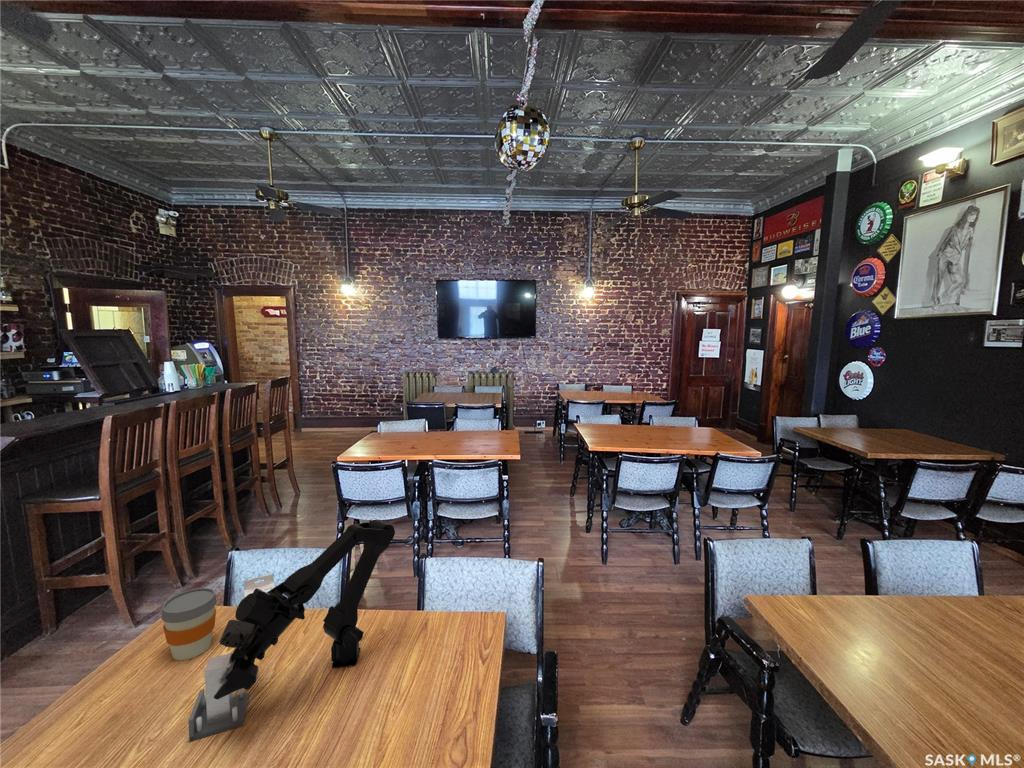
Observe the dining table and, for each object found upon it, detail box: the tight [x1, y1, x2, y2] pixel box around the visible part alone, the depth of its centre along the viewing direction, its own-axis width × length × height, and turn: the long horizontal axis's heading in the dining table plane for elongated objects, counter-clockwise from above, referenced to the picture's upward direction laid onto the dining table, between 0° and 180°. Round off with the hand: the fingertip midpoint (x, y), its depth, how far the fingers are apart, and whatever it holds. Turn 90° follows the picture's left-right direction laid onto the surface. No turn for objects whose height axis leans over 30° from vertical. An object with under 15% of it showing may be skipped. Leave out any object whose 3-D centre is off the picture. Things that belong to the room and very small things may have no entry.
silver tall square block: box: [204, 652, 235, 724], centre depth 97 cm, size 4×4×13 cm
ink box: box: [243, 573, 276, 599], centre depth 130 cm, size 8×5×15 cm, turn 123°
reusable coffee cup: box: [161, 587, 218, 661], centre depth 120 cm, size 13×12×15 cm
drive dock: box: [187, 688, 250, 742], centre depth 98 cm, size 10×9×5 cm
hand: (220, 683), depth 97 cm, fingers open, 9 cm apart
